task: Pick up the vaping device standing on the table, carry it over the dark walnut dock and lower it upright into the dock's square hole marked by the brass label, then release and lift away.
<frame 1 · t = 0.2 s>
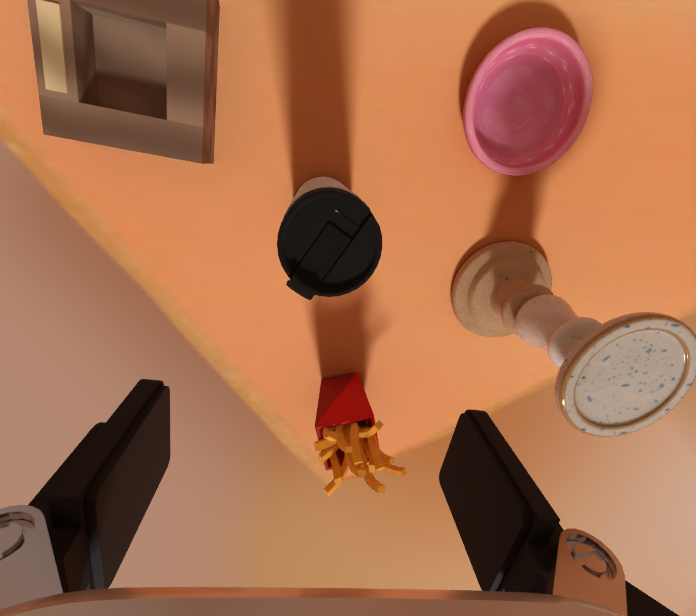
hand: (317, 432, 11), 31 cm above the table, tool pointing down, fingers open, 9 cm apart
candle holder: (497, 288, 44), on the table
french fries: (348, 383, 48), on the table
travel mug: (322, 207, 39), on the table
saucer: (512, 110, 37), on the table
walnut dock: (143, 74, 33), on the table
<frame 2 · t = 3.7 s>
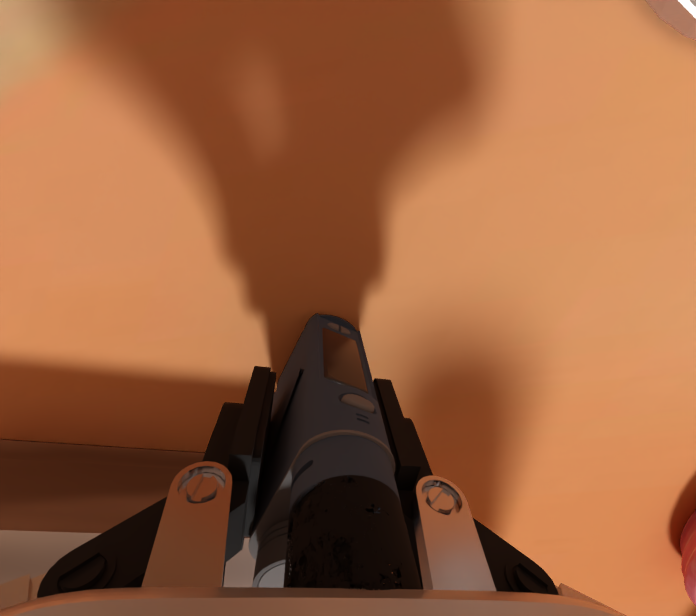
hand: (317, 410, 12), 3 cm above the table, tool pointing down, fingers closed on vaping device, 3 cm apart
vaping device: (316, 359, 16), on the table, touching gripper
walnut dock: (152, 544, 19), on the table
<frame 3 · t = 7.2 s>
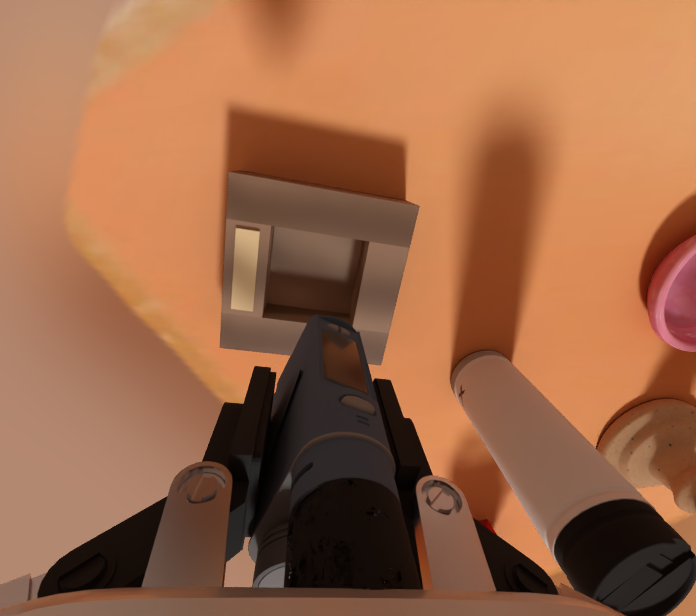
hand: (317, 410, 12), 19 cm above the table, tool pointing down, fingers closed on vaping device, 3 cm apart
candle holder: (644, 439, 42), on the table
travel mug: (478, 376, 36), on the table
saucer: (691, 279, 34), on the table
vaping device: (316, 360, 15), point 16 cm above the table, touching gripper
walnut dock: (314, 266, 30), on the table
when the fingers open (6 cm above the table, at t = 10.6 s): vaping device drops 1 cm, resting on walnut dock.
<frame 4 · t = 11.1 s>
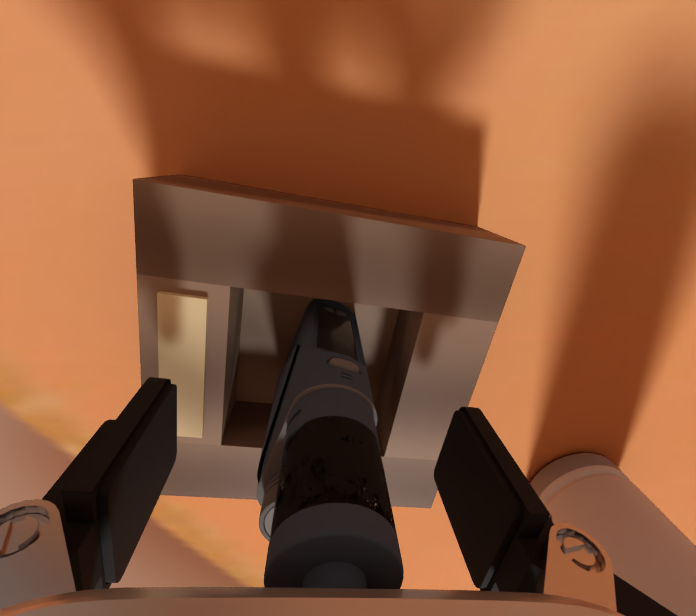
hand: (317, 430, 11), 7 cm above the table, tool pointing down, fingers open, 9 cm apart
travel mug: (565, 486, 24), on the table
vaping device: (318, 343, 17), point 1 cm above the table, touching walnut dock
walnut dock: (316, 336, 18), on the table
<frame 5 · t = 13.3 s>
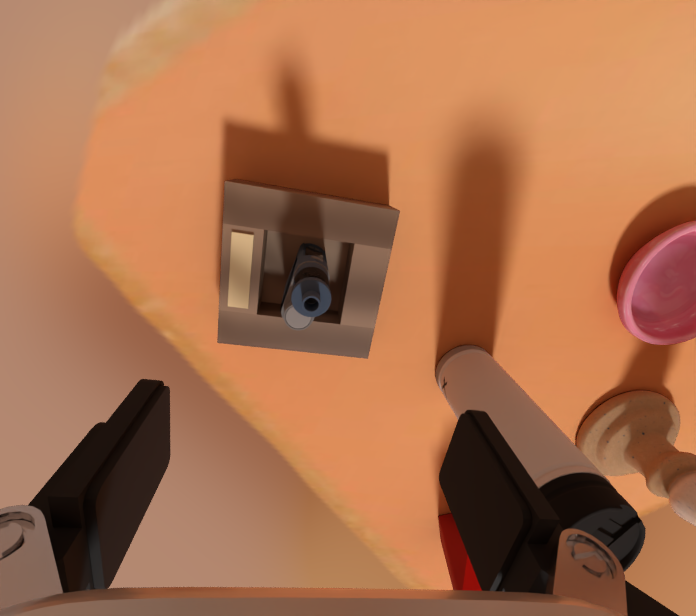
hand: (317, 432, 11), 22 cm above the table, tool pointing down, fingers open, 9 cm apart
candle holder: (621, 429, 44), on the table
french fries: (463, 517, 47), on the table
travel mug: (461, 370, 38), on the table
saucer: (658, 277, 37), on the table
vaping device: (306, 268, 31), point 1 cm above the table, touching walnut dock
walnut dock: (305, 266, 32), on the table
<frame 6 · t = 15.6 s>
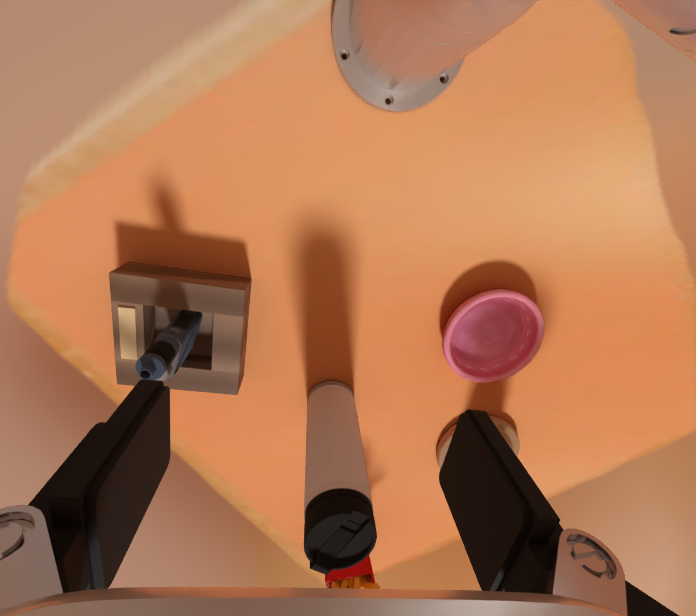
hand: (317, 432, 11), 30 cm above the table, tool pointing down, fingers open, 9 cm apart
candle holder: (475, 446, 53), on the table
french fries: (351, 516, 57), on the table
travel mug: (330, 399, 48), on the table
saucer: (483, 328, 46), on the table
vaping device: (189, 325, 41), point 1 cm above the table, touching walnut dock
walnut dock: (190, 323, 42), on the table
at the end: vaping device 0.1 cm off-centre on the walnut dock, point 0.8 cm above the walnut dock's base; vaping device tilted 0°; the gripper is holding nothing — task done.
